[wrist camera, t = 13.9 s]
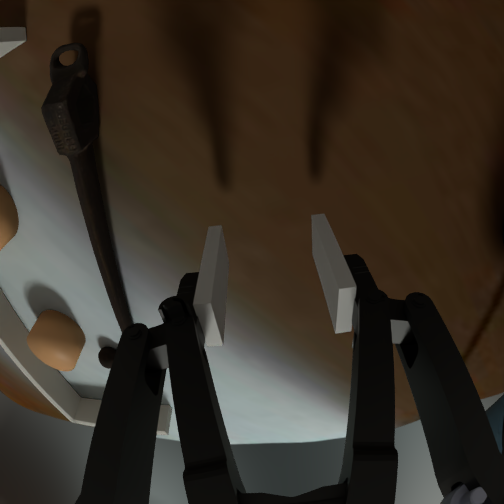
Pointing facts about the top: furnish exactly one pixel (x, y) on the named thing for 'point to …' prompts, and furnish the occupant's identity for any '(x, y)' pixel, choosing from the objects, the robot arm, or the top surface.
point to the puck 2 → (56, 340)
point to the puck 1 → (7, 217)
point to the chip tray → (15, 334)
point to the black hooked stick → (84, 165)
